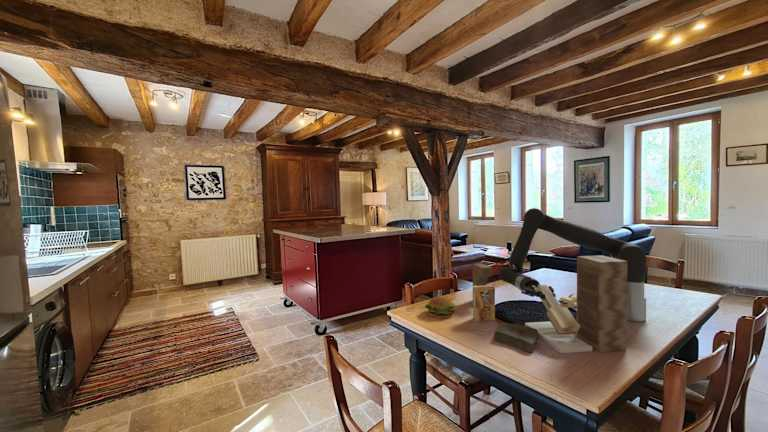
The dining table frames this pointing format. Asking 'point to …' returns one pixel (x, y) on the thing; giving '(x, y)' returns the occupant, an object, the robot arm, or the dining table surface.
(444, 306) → the food
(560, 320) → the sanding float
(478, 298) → the candy box
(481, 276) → the decorative block
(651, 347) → the dining table surface
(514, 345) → the marble piece
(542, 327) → the grey board
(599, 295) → the zigzag patterned tall block
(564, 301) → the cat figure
